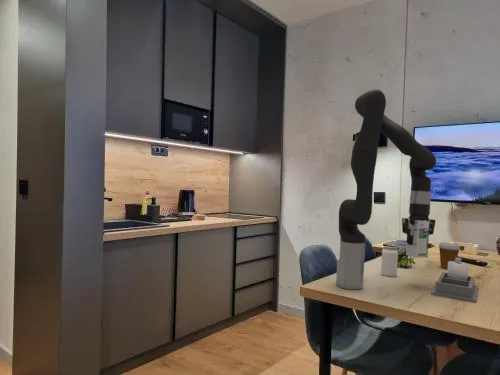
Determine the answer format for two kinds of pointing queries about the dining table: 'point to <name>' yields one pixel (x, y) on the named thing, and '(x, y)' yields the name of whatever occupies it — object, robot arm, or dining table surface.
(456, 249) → the disposable coffee cup
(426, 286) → the dining table surface
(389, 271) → the can
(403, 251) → the passion flower
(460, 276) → the housing
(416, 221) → the syrup box
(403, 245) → the medicine box
